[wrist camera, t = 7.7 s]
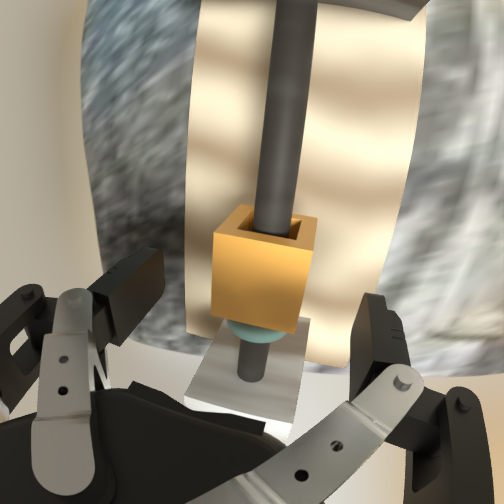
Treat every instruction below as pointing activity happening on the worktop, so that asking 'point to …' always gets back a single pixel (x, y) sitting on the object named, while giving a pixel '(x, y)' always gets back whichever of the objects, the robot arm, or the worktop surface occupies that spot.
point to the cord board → (328, 157)
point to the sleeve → (261, 271)
